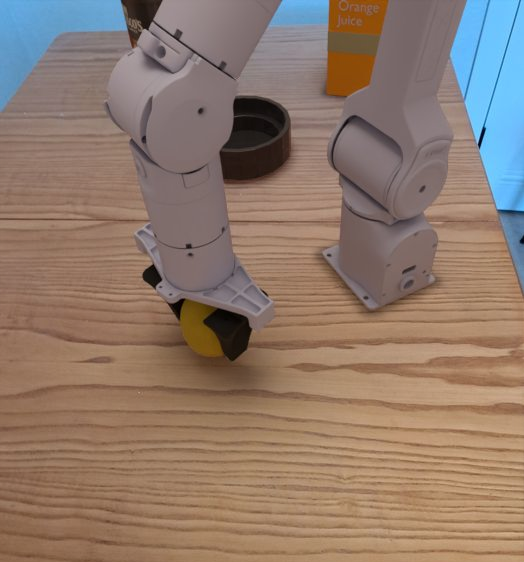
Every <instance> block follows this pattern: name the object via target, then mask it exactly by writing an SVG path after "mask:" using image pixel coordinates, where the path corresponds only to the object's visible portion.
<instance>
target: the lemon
mask: <svg viewBox="0 0 524 562" xmlns="http://www.w3.org/2000/svg"><path fill="white" fill-rule="evenodd" d="M216 309H218V308H217V307H214V306H210V305H207V304H203V303H200V302H196V301H193V300H189V299H185V301H184V303H183V305H182V308H181V314H180V322H179V324H180V330H181V334H182V336H183V339H184V340H185V342H186V343H187V345H188V346H189V347H190V349H192V350H193V351H194V352H195V353H197V354H199V355H201V356H204V357H208V358H216V357H221V356H225V355H224V353H223V351H222V348H221V345H220V342H219V340H218V338H217V336H216V335H215V333H214V332H213V331H212V330H211V329H210V328H209V327H207V326H206V325H205V324H203V320H204V319H205V318H207V317H208V316H209V315H210V314H211V313H213V312H214V311H215V310H216Z"/></svg>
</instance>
